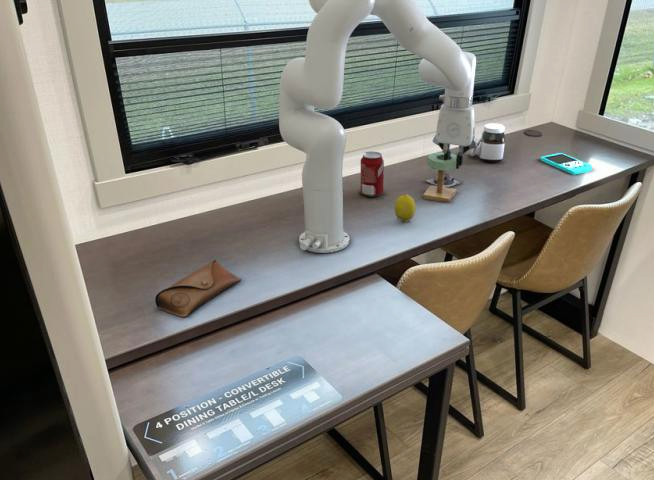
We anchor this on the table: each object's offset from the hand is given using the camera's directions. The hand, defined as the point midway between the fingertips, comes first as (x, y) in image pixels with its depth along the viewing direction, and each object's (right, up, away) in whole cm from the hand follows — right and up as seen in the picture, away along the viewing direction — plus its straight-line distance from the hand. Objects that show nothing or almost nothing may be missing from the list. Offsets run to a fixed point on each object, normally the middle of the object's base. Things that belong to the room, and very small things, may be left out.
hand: (452, 166), depth 173 cm
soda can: (-23, -7, +6) cm, 25 cm away
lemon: (-14, -18, -10) cm, 25 cm away
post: (-3, -7, +6) cm, 10 cm away
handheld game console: (+42, +7, +31) cm, 53 cm away
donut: (-1, -1, +14) cm, 14 cm away
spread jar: (+15, +10, +34) cm, 39 cm away
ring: (-3, 0, +1) cm, 3 cm away
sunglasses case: (-59, -37, -43) cm, 82 cm away
